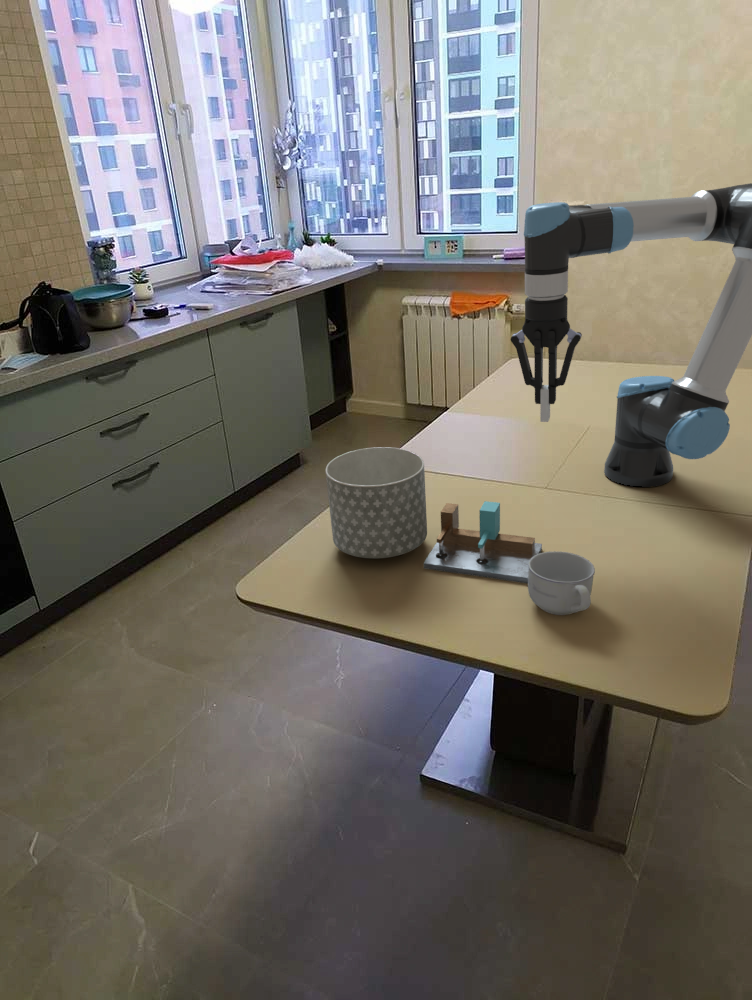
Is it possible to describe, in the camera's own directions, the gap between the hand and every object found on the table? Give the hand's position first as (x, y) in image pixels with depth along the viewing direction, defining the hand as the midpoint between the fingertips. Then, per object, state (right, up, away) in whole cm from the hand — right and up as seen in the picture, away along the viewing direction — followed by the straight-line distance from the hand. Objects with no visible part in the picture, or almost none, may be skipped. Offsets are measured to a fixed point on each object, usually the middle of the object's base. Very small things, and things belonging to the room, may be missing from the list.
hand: (545, 419), depth 140 cm
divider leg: (-12, -25, -1) cm, 28 cm away
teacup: (-1, -35, -17) cm, 39 cm away
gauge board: (-12, -27, -1) cm, 30 cm away
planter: (-32, -25, +6) cm, 41 cm away
